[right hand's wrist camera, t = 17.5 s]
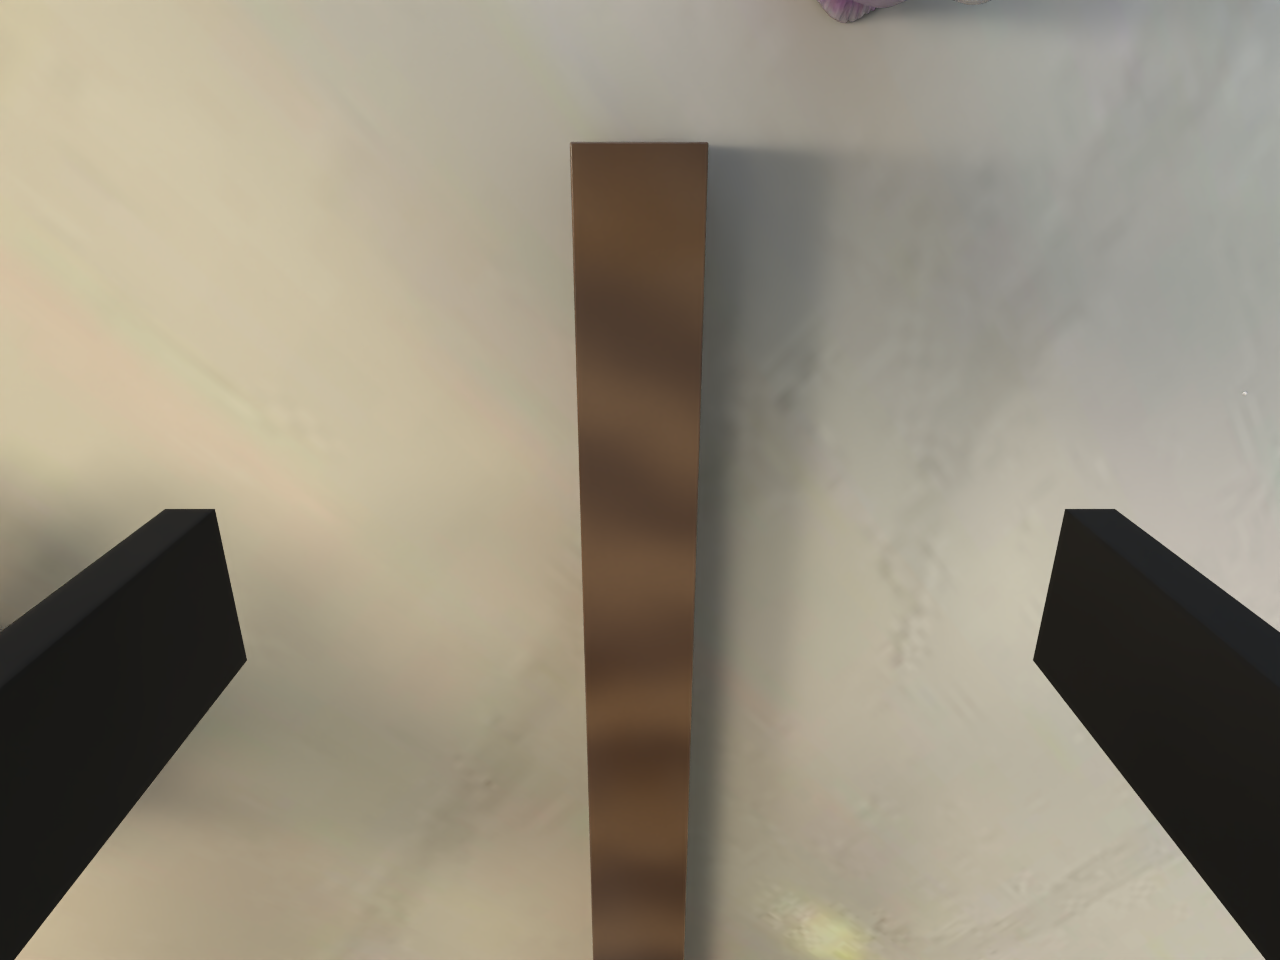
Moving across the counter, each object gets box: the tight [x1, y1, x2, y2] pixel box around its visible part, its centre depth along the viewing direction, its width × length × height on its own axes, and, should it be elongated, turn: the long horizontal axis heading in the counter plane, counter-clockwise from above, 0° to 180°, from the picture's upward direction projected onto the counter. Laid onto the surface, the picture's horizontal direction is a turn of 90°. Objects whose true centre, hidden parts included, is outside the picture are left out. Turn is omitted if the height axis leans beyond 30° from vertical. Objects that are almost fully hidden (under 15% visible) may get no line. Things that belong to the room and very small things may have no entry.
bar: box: [570, 142, 708, 960], centre depth 49 cm, size 76×5×8 cm, turn 0°
